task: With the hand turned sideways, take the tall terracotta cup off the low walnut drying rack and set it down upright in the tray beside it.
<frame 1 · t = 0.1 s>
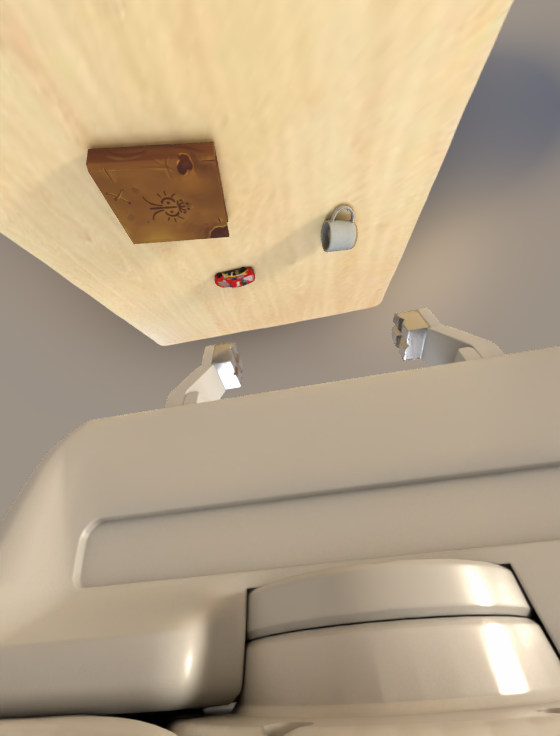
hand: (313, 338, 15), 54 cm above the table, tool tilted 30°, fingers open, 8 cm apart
race car: (234, 273, 93), on the table
diary: (168, 187, 63), on the table
ceramic mug: (336, 220, 77), on the table
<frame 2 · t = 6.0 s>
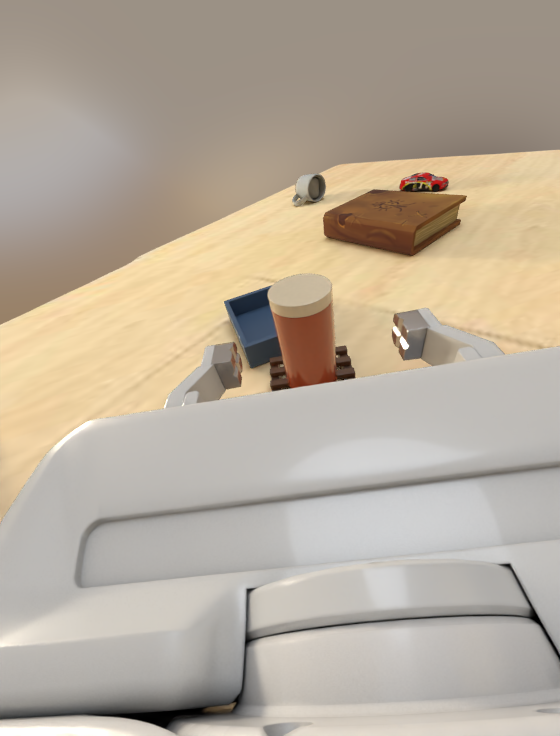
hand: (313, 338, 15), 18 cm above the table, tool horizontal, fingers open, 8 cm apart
drying rack: (313, 390, 35), on the table
race car: (422, 190, 85), on the table
diary: (388, 232, 67), on the table
ceramic mug: (308, 202, 97), on the table
tray: (275, 328, 47), on the table
cup: (311, 376, 34), point 2 cm above the table, touching drying rack
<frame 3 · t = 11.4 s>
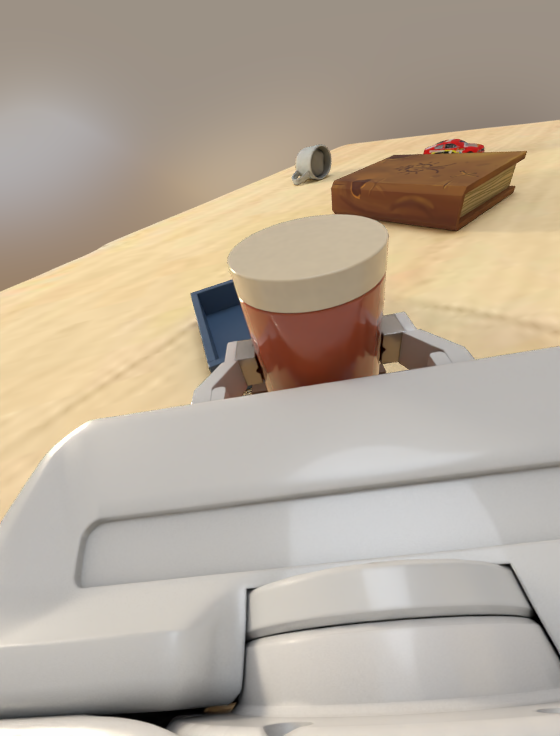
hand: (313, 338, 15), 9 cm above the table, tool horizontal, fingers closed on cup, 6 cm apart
race car: (450, 161, 70), on the table
diary: (416, 206, 51), on the table
ceramic mug: (310, 180, 82), on the table
tray: (265, 333, 31), on the table
cup: (326, 424, 18), point 3 cm above the table, touching drying rack, gripper
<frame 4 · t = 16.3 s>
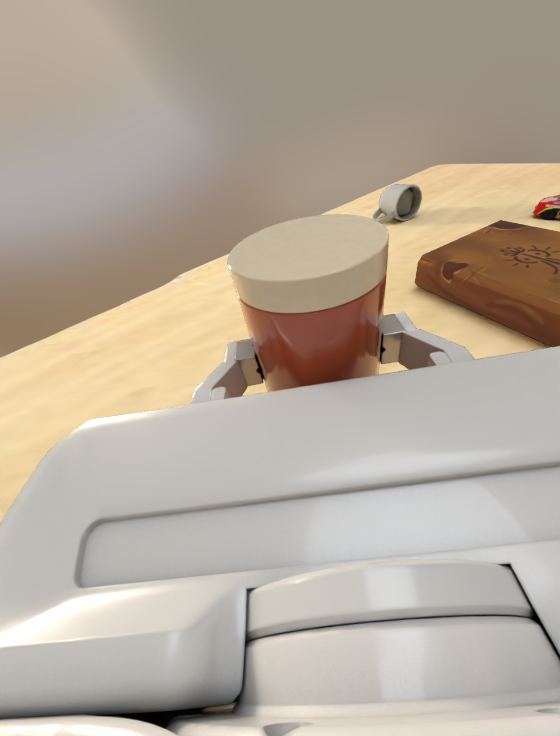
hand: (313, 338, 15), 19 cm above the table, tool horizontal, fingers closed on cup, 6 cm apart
diary: (518, 294, 44), on the table
ceramic mug: (393, 219, 75), on the table
cup: (326, 424, 18), point 13 cm above the table, touching gripper
when the fingers open (7 cm above the table, at t = 21.1 s): cup stays where it is, resting on tray.
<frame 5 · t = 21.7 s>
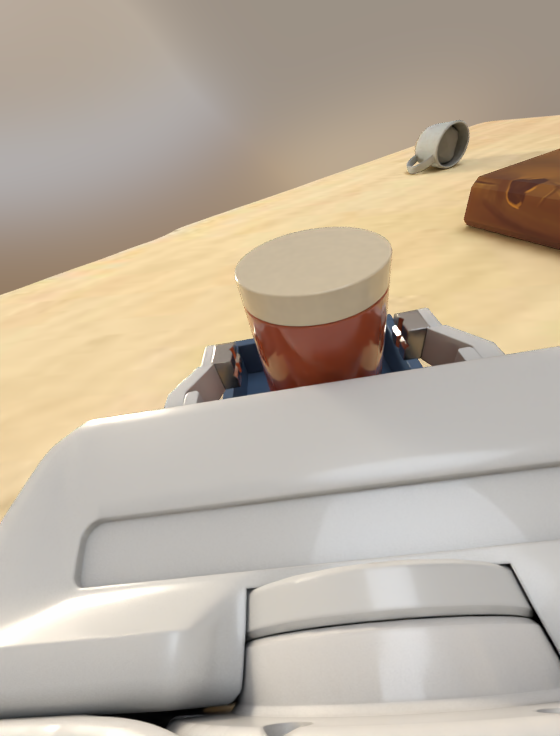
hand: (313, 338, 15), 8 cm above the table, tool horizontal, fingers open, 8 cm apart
ceramic mug: (431, 169, 63), on the table
tray: (327, 435, 19), on the table
cup: (328, 429, 19), point 1 cm above the table, touching tray
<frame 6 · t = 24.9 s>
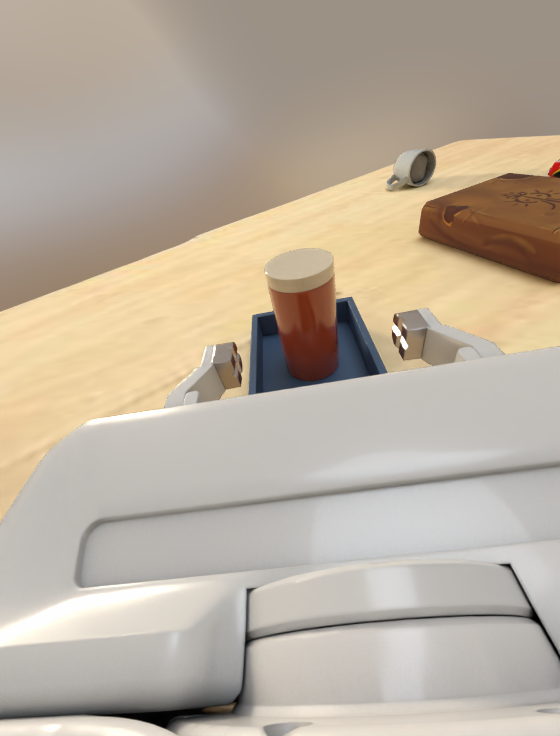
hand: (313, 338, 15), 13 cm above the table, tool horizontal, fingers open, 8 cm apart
diary: (519, 239, 45), on the table
ceramic mug: (407, 186, 76), on the table
tray: (312, 367, 32), on the table
cup: (312, 362, 32), point 1 cm above the table, touching tray
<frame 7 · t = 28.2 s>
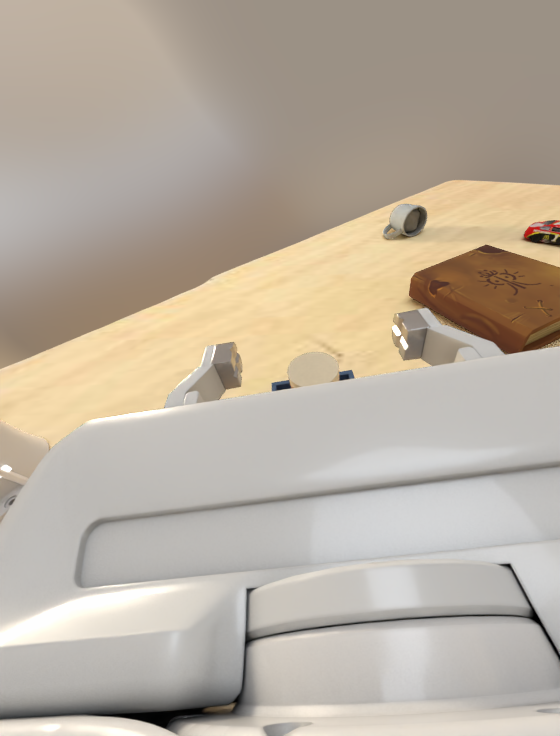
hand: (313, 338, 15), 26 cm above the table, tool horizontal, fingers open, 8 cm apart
race car: (556, 242, 67), on the table
diary: (492, 308, 54), on the table
ceramic mug: (401, 234, 85), on the table
cup: (320, 426, 41), point 1 cm above the table, touching tray
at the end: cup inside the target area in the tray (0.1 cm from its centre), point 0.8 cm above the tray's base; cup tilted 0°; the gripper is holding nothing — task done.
